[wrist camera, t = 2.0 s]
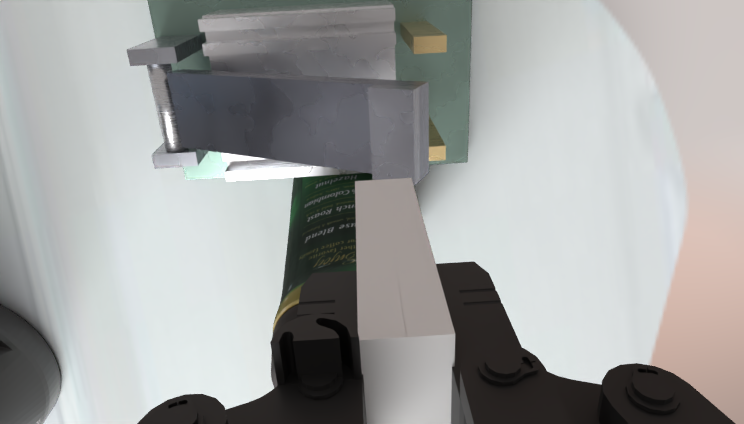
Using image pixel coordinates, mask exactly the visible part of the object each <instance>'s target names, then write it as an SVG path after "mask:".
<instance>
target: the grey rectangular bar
mask: <svg viewBox="0 0 744 424" xmlns="http://www.w3.org/2000/svg"><path fill="white" fill-rule="evenodd" d="M166 73H167V78H168V83H169V87H170V92H171V97H172V102H173V106H174V111H175V116H176V121H177V125H178V130H179V135H180V140H181V144H182V147H185V148H192V149H199V150H206V151H213V152H220V153H228V154H235V155H242V156H249V157H256V158H263V159H271V160H278V161H285V162H292V163H299V164H306V165H313V166H321V167H328V168H335V169H342V170H349V171H356V172H364V173H371V174H372V178H373V179H374V180H383V179H400V178H412V182H413V185H416V184H417V183H418V182H419V181H420V180H421V179H422V178H424V177H425V176H426V175H427V174H428V173H429V82H423V81H403V80H384V79H365V78H346V77H327V76H308V75H288V74H269V73H250V72H231V71H212V70H192V69H179V70H174V71H170V72H166Z"/></svg>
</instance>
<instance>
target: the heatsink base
mask: <svg viewBox="0 0 744 424" xmlns="http://www.w3.org/2000/svg"><path fill="white" fill-rule="evenodd" d="M148 5H149V10H150V14H151V19H152V24H153V28H154V33H155V39H153V40H150V41H148V42H145V43H142V44H140V45H137V46H135V47H132V48H130V49H127V53H128V57H129V62H130V66H136V65H147V69H148V73H149V78H150V82H151V87H152V91H153V96H154V100H155V105H156V109H157V114H158V118H159V122H160V127H161V131H162V136H163V140H164V143H163V144H162V145H161V146H160V147H159V148H158V149H157V150H156V151H155V152H154V153H153V154H152V159H153V163H154V167H155V168H170V167H183V169H184V174H185V179H186V180H193V179H209V178H225V177H226V182H228V181H244V180H260V179H276V178H292V177H308V176H324V175H340V174H355V173H364V172H356V171H349V170H342V169H335V168H328V167H321V166H313V165H306V164H299V163H292V162H285V161H278V160H271V159H263V158H256V157H249V156H242V155H235V154H228V153H220V152H213V151H206V150H199V149H192V148H185V147H182V144H181V140H180V135H179V130H178V125H177V121H176V116H175V111H174V106H173V102H172V97H171V92H170V87H169V83H168V78H167V73H166V72H170V71H174V70H179V69H192V70H212V71H231V72H250V73H269V74H288V75H308V76H327V77H346V78H365V79H384V80H403V81H423V82H429V165H432V164H448V163H464V162H467V161H468V124H469V87H470V50H471V13H472V0H148Z"/></svg>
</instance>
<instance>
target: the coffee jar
mask: <svg viewBox="0 0 744 424" xmlns="http://www.w3.org/2000/svg"><path fill="white" fill-rule="evenodd" d="M366 180H374V179H373V178H372V174H371V173H355V174H340V175H324V176H308V177H294V181H293V191H292V201H291V214H290V226H289V236H288V245H287V255H286V262H285V272H284V281H283V291H282V297H281V302H280V306H279V309H278V311H277V314H276V317H275V321H274V326H273V337H274V335H275V333H276V331H277V330H279V329H280V328H281V327H282V326H283V325H284V324H286V323H287V322H289V321H291V320H294V319H296V318H297V310H298V305H299V297H300V291H301V286H302V285H303V284H304V283H305V282H306V281H307V279H308V278H309V277H310V276H311V275H312V273H325V272H341V271H357V262H356V208H355V181H366ZM272 339H273V338H272ZM271 377H272V382H273V385H274V388H275V387H276V386H277V379H276V373H275V367H274V361H273V355H272V363H271Z"/></svg>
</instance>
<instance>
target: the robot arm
mask: <svg viewBox="0 0 744 424" xmlns="http://www.w3.org/2000/svg"><path fill="white" fill-rule="evenodd" d="M355 208H356V262H357V271H341V272H325V273H312V275H311V276H310V277H309V278H308V279H307V281H306V282H305V283H304V284H303V285H302V286H301V291H300V297H299V305H298V310H297V318H296V319H294V320H291V321H289V322H287V323H286V324H284V325H283V326H282V327H281V328H280V329H279V330H277V331H276V333H275V335H274V337H273V339H272V341H271V349H272V355H273V361H274V367H275V373H276V379H277V386H276V387H275V388H274V389H273V390H272V391H271V392H269V393H267V394H266V395H264V396H263V397H261V398H258V399H256V400H254V401H251V402H249V403H246V404H242V405H239V406H236V407H233V408H230V409H227V410H225V407H224V406H223V405H222V404H221V403H220V402H219V401H218V400H217V399H216V398H213V397H210V396H207V395H204V394H189V395H183V396H179V397H176V398H173V399H169V400H167V401H165V402H164V403H162V404H160V405H158V406H157V407H155V408H153V409H152V410H151V411H150V412H149V413H148V414H147V415H145V416H144V417H143V418H142V419H141V420H140V421H139V423H138V424H735V423H734V422H733V421H732V420H730V419H729V418H728V417H727V416H726V415H725V414H724V413H722V412H721V411H720V410H719V409H718V408H717V407H715V406H714V405H713V404H712V403H711V402H710V401H708V400H707V399H706V398H705V397H704V396H703V395H701V394H700V393H699V392H698V391H696V389H694V388H693V387H692V386H691V385H690V384H688V383H687V382H685V381H684V380H682V379H681V378H679V377H678V376H676V375H675V374H673V373H671V372H668V371H666V370H663V369H661V368H658V367H655V366H650V365H643V364H637V363H636V364H625V365H619V366H617V367H615V368H613V369H611V370H609V371H608V372H607V374H606V375H605V377H604V379H603V380H602V385H600V384H594V383H588V382H582V381H576V380H571V379H567V378H563V377H559V376H556V375H554V374H552V373H549V372H547V371H546V369H545V367H544V366H543V364H542V363H541V362H540V361H539V359H538V358H537V357H536V356H535V355H533V354H532V353H530V352H529V351H527V350H525V349H524V348H522V347H521V345H520V343H519V341H518V338H517V336H516V334H515V331H514V329H513V327H512V325H511V322H510V320H509V318H508V316H507V313H506V311H505V309H504V307H503V304H502V303H501V300H500V298H499V295H498V293H497V291H495V286H494V284H493V282H492V280H491V277H490V275H489V273H487V272H486V271H485V270H484V269H482V268H481V267H480V266H479V265H477V264H476V263H475V262H460V263H444V264H435V260H434V256H433V253H432V249H431V246H430V242H429V239H428V235H427V232H426V228H425V224H424V221H423V217H422V214H421V210H420V207H419V203H418V199H417V196H416V192H415V189H414V185H413V182H412V178H400V179H383V180H366V181H355ZM60 386H61V378H60V371H59V367H58V364H57V361H56V359H55V357H54V355H53V353H52V351H51V349H50V348H49V346H48V345H47V343H46V342H45V340H44V339H43V338H42V337H41V336H40V334H39V333H38V332H37V331H36V330H35V329H34V328H33V327H32V326H30V325H29V324H28V323H27V322H26V321H24V320H23V319H22V318H20V317H19V316H18V315H16V314H15V313H13V312H12V311H10V310H8V309H7V308H5V307H3V306H1V305H0V424H43V423H44V421H45V419H46V418H47V416H48V415H49V413H50V412H51V410H52V409H53V407H54V406H55V404H56V402H57V399H58V397H59V393H60Z"/></svg>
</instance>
